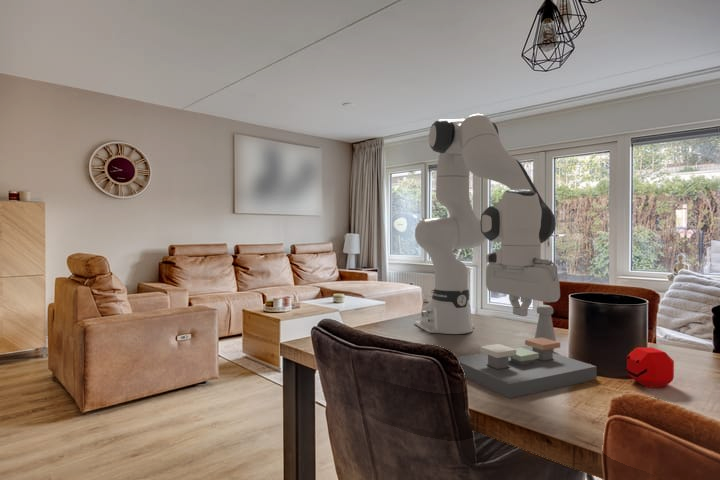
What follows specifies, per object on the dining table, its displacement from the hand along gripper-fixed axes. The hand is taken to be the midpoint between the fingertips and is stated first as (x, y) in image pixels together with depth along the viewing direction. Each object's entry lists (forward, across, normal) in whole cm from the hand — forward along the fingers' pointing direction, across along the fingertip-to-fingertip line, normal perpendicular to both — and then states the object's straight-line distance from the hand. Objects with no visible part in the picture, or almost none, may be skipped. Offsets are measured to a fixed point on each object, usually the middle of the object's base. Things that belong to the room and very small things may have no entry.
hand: (520, 315), depth 102 cm
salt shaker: (+15, +12, -21) cm, 28 cm away
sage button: (+13, 0, 0) cm, 13 cm away
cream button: (+11, 0, +7) cm, 13 cm away
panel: (+14, 0, 0) cm, 14 cm away
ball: (+14, -17, -21) cm, 31 cm away
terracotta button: (+11, 0, -7) cm, 13 cm away
